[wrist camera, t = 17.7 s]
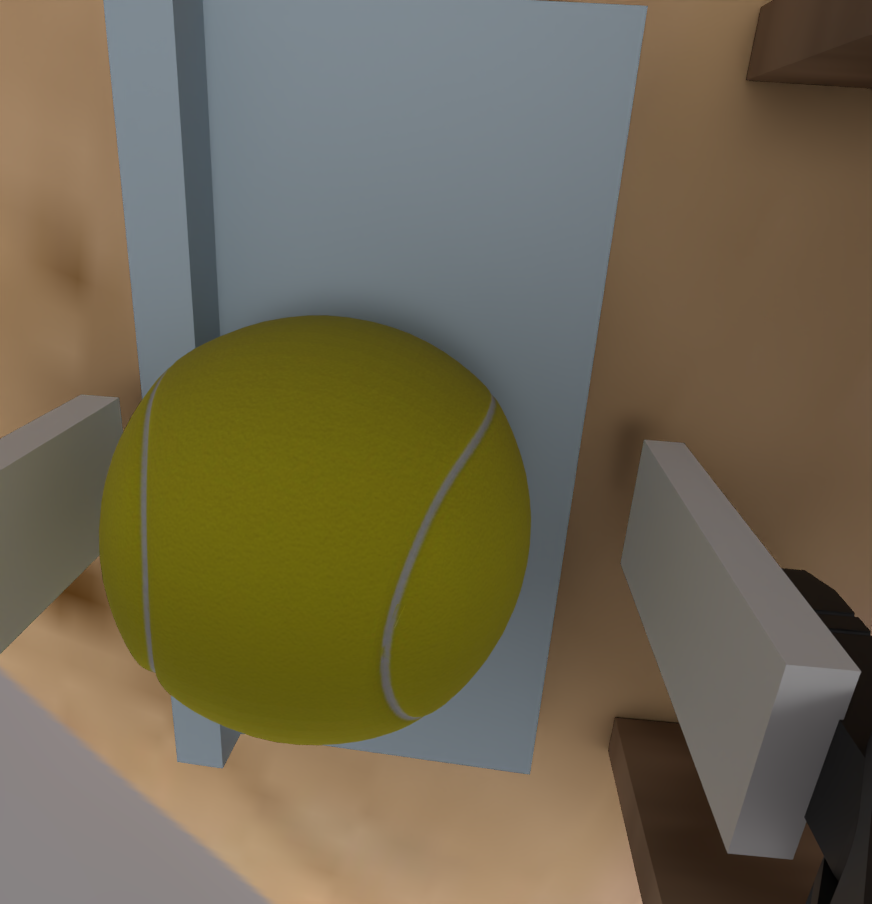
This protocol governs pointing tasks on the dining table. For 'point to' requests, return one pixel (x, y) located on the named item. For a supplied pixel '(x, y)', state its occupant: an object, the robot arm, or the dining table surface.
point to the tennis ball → (315, 529)
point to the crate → (663, 744)
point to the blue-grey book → (390, 234)
